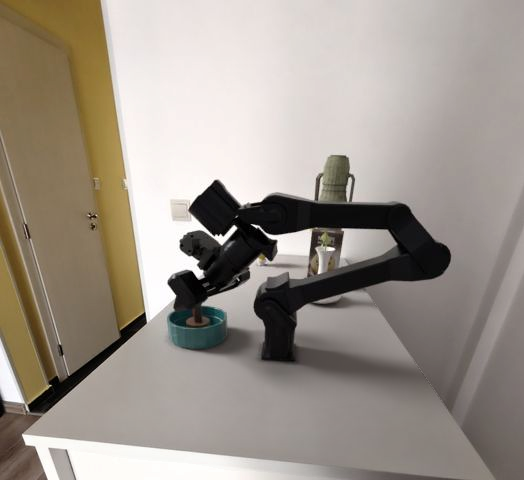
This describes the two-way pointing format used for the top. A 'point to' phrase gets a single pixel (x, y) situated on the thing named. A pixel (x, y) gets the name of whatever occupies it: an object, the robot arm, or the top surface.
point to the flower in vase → (325, 263)
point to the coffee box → (316, 241)
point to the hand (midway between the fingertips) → (190, 302)
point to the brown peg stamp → (197, 319)
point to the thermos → (335, 181)
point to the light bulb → (261, 260)
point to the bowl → (197, 336)
